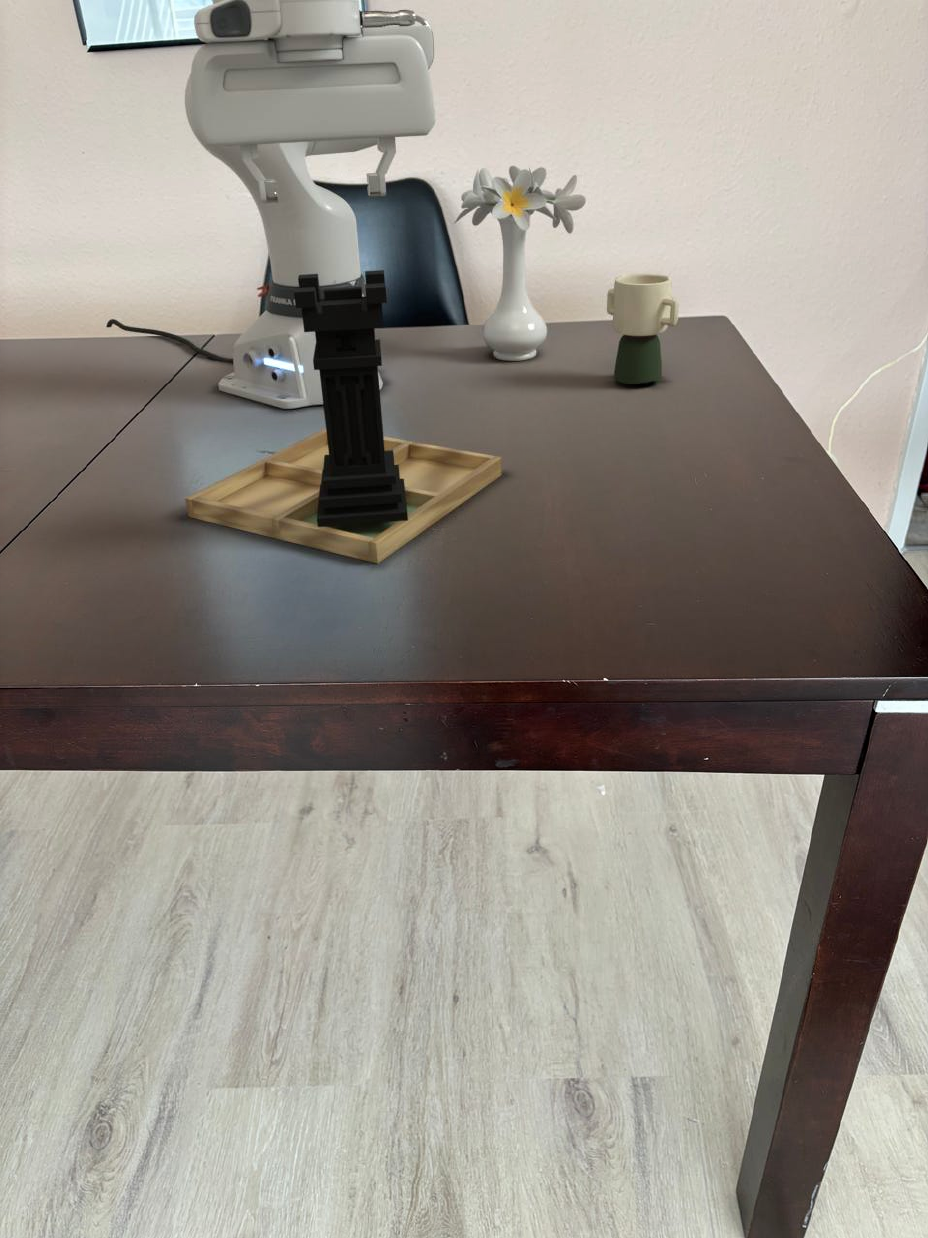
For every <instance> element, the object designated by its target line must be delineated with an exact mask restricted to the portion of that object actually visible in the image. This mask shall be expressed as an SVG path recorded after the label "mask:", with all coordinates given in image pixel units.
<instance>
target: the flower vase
mask: <svg viewBox="0 0 928 1238" xmlns="http://www.w3.org/2000/svg"><path fill="white" fill-rule="evenodd" d="M508 174H509V177H510V180H511V182H512V184H510V181H509V178H507V177H502V176H498V175H497V176H494V177H493V178H492V175H491V172H490V171H489V169H488V168H486V167H482V168H481V169H480V170H479V169H477V170H476V173H475V175H474V178H473V184H472V189H470V190H466V191H464V192H463V193H462V194H461V196H460V197H461V198H460V199H461V201H462V204H461V209H463V210H462V211H461V212H460V213H459V215H458V216H457V218H456V220H455V221H454V222H453V224H456V223H458V221H460V220H461V219H462V218H463V217H465V216H467V214H469V213H471V212H472V211H473V210H475V211H474V212H473V215H472V218H471V223H472V225H473V226H475V227H477V226H478V225H481V223H483V221H484V220H485V219H486V218H487V216H488V215H489V214H491V215H492V217H493V219H496V220H497V221H498V223H499V226H500V227H499V228H500V232H501V240H502V253H503V255H502V259H503V260H502V285H501V292H500V296H499V298H498V302H497V304H496V307H495V309H494V310H493V311H492V313H490V314H489V316H488V317H487V318H486V320H485V321H484V323H483V326H482V330H481V336H482V339H483V341H484V343H485V344H486V345H487V347H489V348H490V349H491V350H493V353H492V354H493V357H494V358H496V359H497V360H501V361H508V362H517V361H518V362H520V361H527V360H530V359H533V358H535V357H536V355H537V349H538V348H539V347H541V346H542V345H543V344H544V342H545V341H546V338H547V336H548V327H547V324H546V322H545V320H544V318H543V316H542V315H541V313H539V312H538V311H537V309H535V307H534V306H533V304H532V302H531V299H530V297H529V293H528V288H527V276H526V253H525V251H526V237H527V230H529V228H530V225H531V216H532V215H533V214H534V213H535V211H536V212H538V213H540V214H543V215H545V216H547V217H548V218H550V219H551V220H552V222H551V223H552V228H553V229H557V228H558V227H559V225H560V223H562V225H563V227H564V229H565V232H567V234H569V235H571V234H572V233H573V231H574V218H573V215H572V214H571V212H572V211H573V212H575V211H578V210H581V209H582V208H583V207H584V206H585V205H586V203H587V199H586V197H585V196H584V195H582V194H573V192H574V191H575V189H576V187H577V184H578V175H577V174H574V175H572V176H571V177H570V178H569V180H568V181H567V183H566V184H565V186H564V187H563V188H557V189H556V190H555V192H552V191H550V190H548V189H541V187H542V185H543V184H544V182H545V180H546V178H547V169H546V168H545V167H543V166H542V167H541V166H540V167H537V168H535V169H534V170H533V171H532V170H531V168H530V167H529V168H528V169H527V168H524V169H521V168H519V167H518V166H516V165H510V166H509V168H508ZM547 204H550V205H552V206H553V212H552V210H551V209H550V208H549V206H548V205H547Z"/></svg>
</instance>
